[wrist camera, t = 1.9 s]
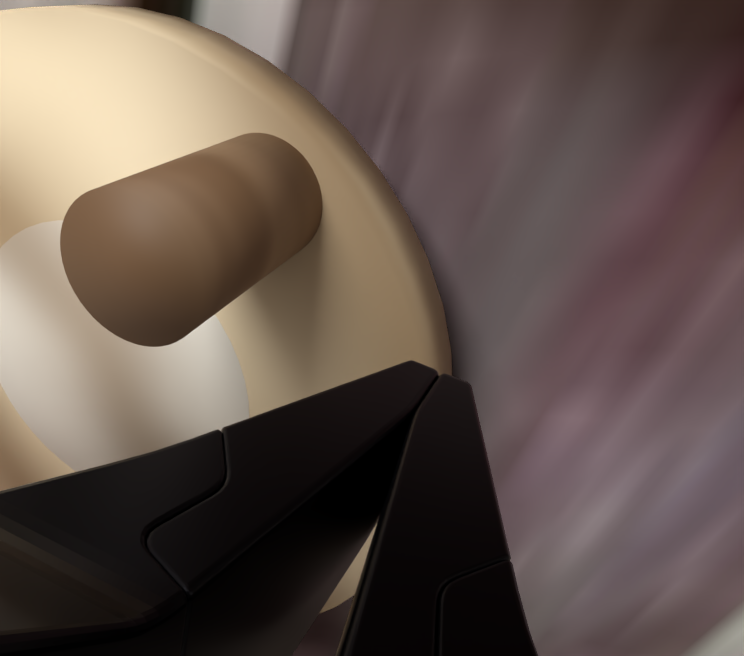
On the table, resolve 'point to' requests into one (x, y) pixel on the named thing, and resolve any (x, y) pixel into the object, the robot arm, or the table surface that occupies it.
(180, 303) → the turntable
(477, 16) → the table surface
